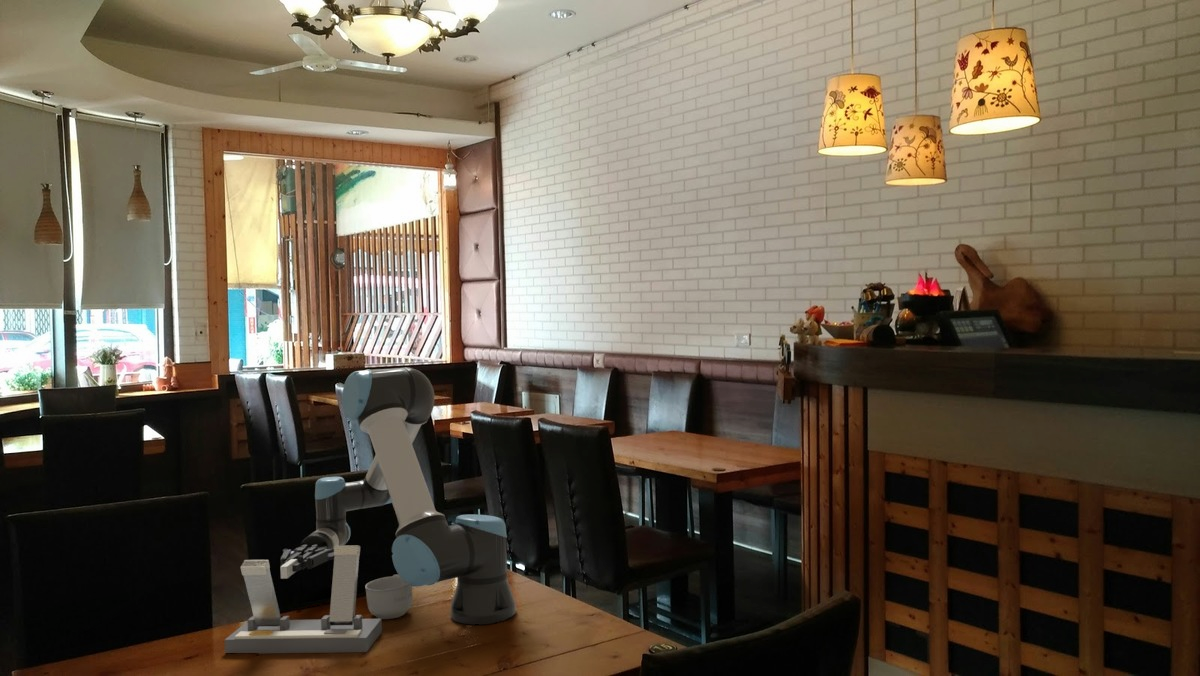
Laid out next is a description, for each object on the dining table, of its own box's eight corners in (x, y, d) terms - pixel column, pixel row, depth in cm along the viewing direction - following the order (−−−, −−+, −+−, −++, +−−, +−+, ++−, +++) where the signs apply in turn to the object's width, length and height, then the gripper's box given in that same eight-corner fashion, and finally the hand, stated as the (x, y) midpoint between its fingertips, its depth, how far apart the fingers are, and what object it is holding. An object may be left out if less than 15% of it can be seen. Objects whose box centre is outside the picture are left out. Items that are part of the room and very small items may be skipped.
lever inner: (354, 625, 194) (360, 546, 199) (351, 625, 191) (357, 545, 197) (331, 625, 194) (338, 546, 199) (328, 625, 191) (334, 545, 197)
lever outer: (282, 621, 194) (268, 559, 187) (278, 629, 192) (264, 567, 185) (259, 621, 195) (244, 560, 188) (255, 629, 192) (240, 567, 185)
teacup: (401, 624, 204) (400, 589, 204) (357, 621, 206) (356, 587, 206) (425, 604, 217) (424, 572, 217) (384, 602, 220) (383, 570, 219)
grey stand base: (381, 631, 199) (381, 607, 198) (366, 652, 187) (365, 626, 187) (248, 633, 199) (248, 609, 199) (225, 653, 187) (224, 628, 187)
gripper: (345, 560, 226) (312, 588, 202) (294, 561, 226) (256, 589, 202) (344, 531, 226) (311, 555, 202) (293, 532, 226) (254, 556, 202)
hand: (283, 572), depth 202 cm, fingers closed
